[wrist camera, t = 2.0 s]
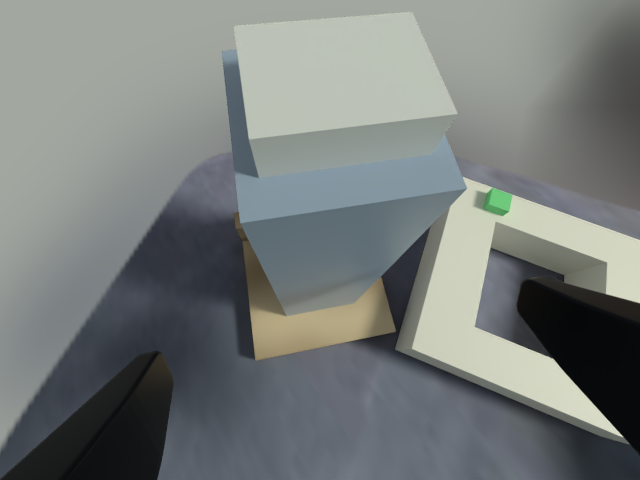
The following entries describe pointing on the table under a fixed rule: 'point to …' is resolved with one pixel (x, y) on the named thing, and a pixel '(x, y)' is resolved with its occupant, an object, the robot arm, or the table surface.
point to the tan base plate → (308, 315)
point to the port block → (466, 286)
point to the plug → (337, 150)
